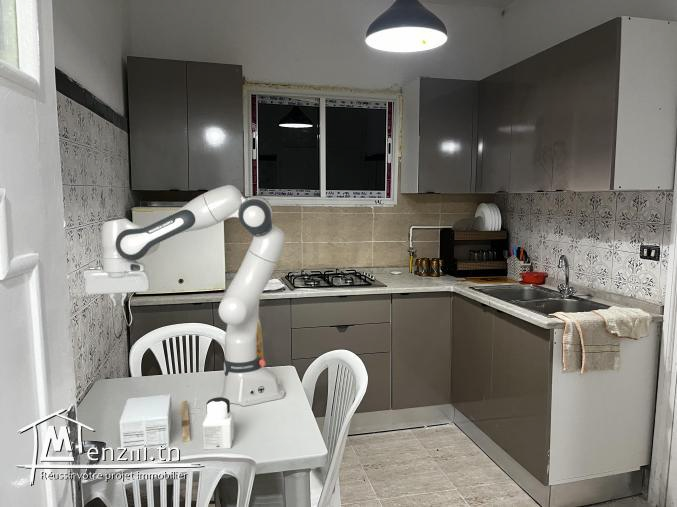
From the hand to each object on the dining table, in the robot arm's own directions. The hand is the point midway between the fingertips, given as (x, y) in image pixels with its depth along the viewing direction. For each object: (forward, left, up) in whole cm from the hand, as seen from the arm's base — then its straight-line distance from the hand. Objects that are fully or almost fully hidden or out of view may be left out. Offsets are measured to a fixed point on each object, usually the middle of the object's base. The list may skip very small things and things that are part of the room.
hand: (119, 305), depth 171 cm
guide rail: (-20, +24, -34) cm, 46 cm away
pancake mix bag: (-45, -9, -34) cm, 57 cm away
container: (-29, +41, -34) cm, 61 cm away
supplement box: (-9, +30, -34) cm, 47 cm away
